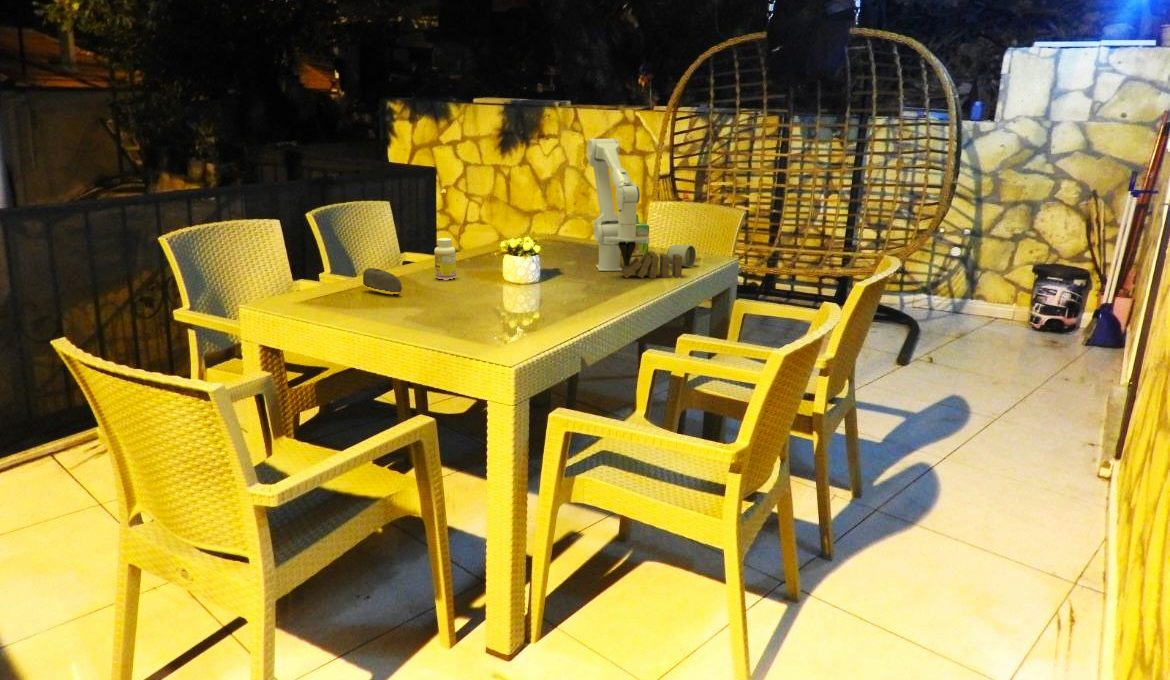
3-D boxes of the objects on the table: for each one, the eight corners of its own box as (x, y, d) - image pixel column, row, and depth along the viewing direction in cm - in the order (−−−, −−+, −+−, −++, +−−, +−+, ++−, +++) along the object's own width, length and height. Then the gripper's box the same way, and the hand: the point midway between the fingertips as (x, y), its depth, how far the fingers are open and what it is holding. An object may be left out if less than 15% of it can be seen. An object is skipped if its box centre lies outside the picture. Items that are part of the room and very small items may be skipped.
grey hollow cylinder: (675, 263, 303) (676, 241, 301) (695, 265, 298) (696, 243, 296) (660, 267, 295) (660, 246, 293) (680, 270, 290) (681, 248, 288)
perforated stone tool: (408, 296, 249) (406, 272, 248) (393, 299, 245) (392, 275, 244) (376, 288, 259) (374, 266, 257) (361, 291, 255) (360, 268, 253)
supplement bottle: (434, 277, 275) (432, 237, 272) (454, 276, 277) (453, 237, 274) (437, 281, 269) (435, 241, 266) (458, 280, 271) (456, 240, 268)
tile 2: (634, 272, 280) (643, 253, 279) (639, 275, 281) (649, 256, 280) (636, 275, 276) (646, 256, 274) (642, 278, 276) (652, 259, 275)
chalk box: (626, 257, 313) (627, 217, 309) (616, 253, 321) (617, 214, 317) (649, 255, 317) (650, 216, 313) (638, 251, 325) (639, 213, 321)
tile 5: (671, 274, 282) (672, 254, 280) (678, 274, 282) (678, 253, 280) (674, 277, 277) (675, 256, 275) (681, 277, 278) (682, 256, 276)
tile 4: (658, 275, 282) (659, 254, 280) (665, 275, 282) (665, 254, 280) (661, 278, 277) (662, 256, 275) (668, 278, 277) (669, 256, 275)
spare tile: (619, 270, 280) (636, 256, 279) (623, 275, 280) (640, 261, 280) (622, 273, 275) (638, 259, 274) (626, 278, 276) (642, 264, 275)
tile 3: (646, 274, 281) (649, 253, 279) (652, 275, 281) (656, 254, 280) (648, 277, 276) (652, 256, 274) (655, 278, 277) (659, 257, 275)
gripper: (606, 225, 268) (606, 267, 272) (651, 225, 270) (650, 267, 274) (603, 222, 275) (602, 263, 279) (647, 222, 277) (646, 263, 281)
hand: (626, 265), depth 277 cm, fingers closed
